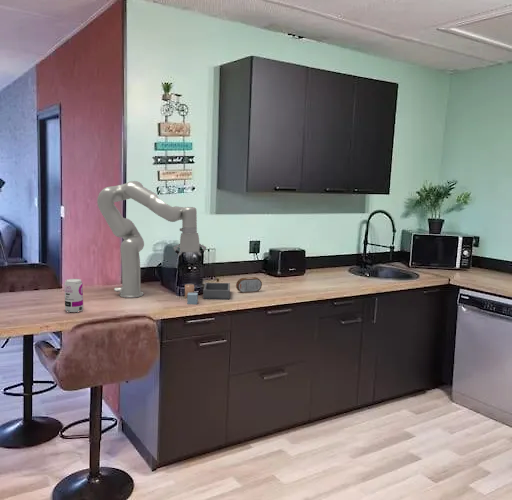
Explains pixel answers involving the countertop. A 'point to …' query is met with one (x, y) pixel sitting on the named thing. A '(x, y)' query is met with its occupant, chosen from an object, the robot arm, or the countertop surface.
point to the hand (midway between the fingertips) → (190, 262)
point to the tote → (216, 291)
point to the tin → (249, 284)
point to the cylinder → (189, 289)
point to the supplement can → (73, 295)
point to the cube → (192, 298)
